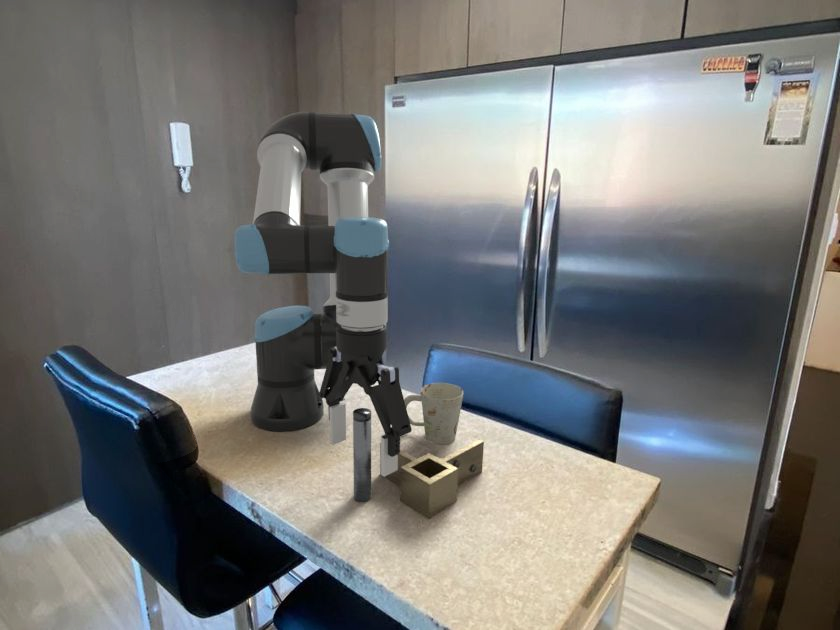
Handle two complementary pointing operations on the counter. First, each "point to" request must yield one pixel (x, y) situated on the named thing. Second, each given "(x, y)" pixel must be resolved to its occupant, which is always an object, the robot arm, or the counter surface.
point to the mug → (439, 411)
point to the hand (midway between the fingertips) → (362, 456)
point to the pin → (362, 454)
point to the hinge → (435, 477)
